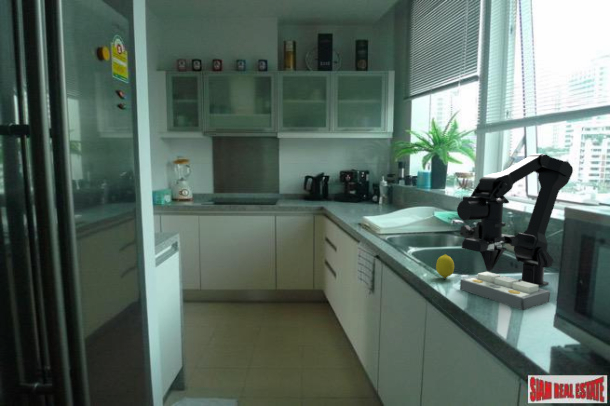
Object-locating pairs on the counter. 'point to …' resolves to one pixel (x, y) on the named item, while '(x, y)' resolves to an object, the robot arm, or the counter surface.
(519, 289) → the button
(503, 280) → the button
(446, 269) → the lemon
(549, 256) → the robot arm
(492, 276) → the button
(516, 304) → the board
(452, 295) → the counter surface
